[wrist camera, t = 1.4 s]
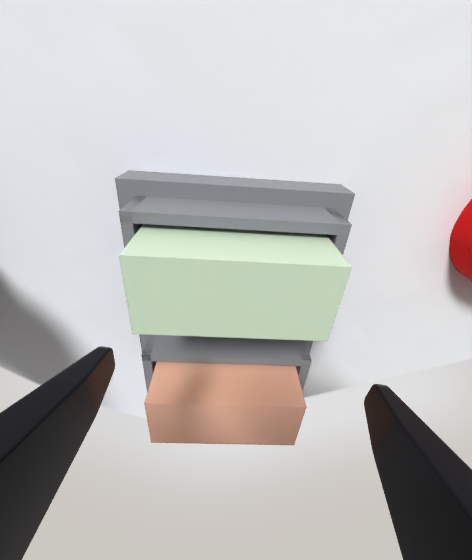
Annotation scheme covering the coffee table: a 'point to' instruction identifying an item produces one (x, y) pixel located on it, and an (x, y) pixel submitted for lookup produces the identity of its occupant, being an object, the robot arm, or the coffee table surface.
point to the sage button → (232, 283)
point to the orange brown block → (224, 404)
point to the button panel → (230, 215)
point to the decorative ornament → (462, 242)
